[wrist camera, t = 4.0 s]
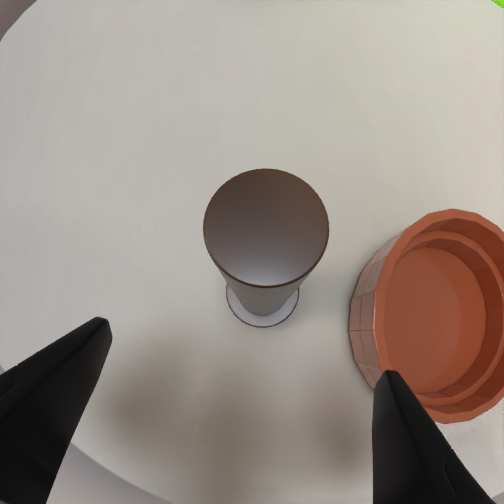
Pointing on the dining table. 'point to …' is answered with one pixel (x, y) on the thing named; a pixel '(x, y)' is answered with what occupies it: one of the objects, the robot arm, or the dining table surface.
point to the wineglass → (499, 2)
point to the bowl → (436, 314)
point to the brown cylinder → (265, 241)
